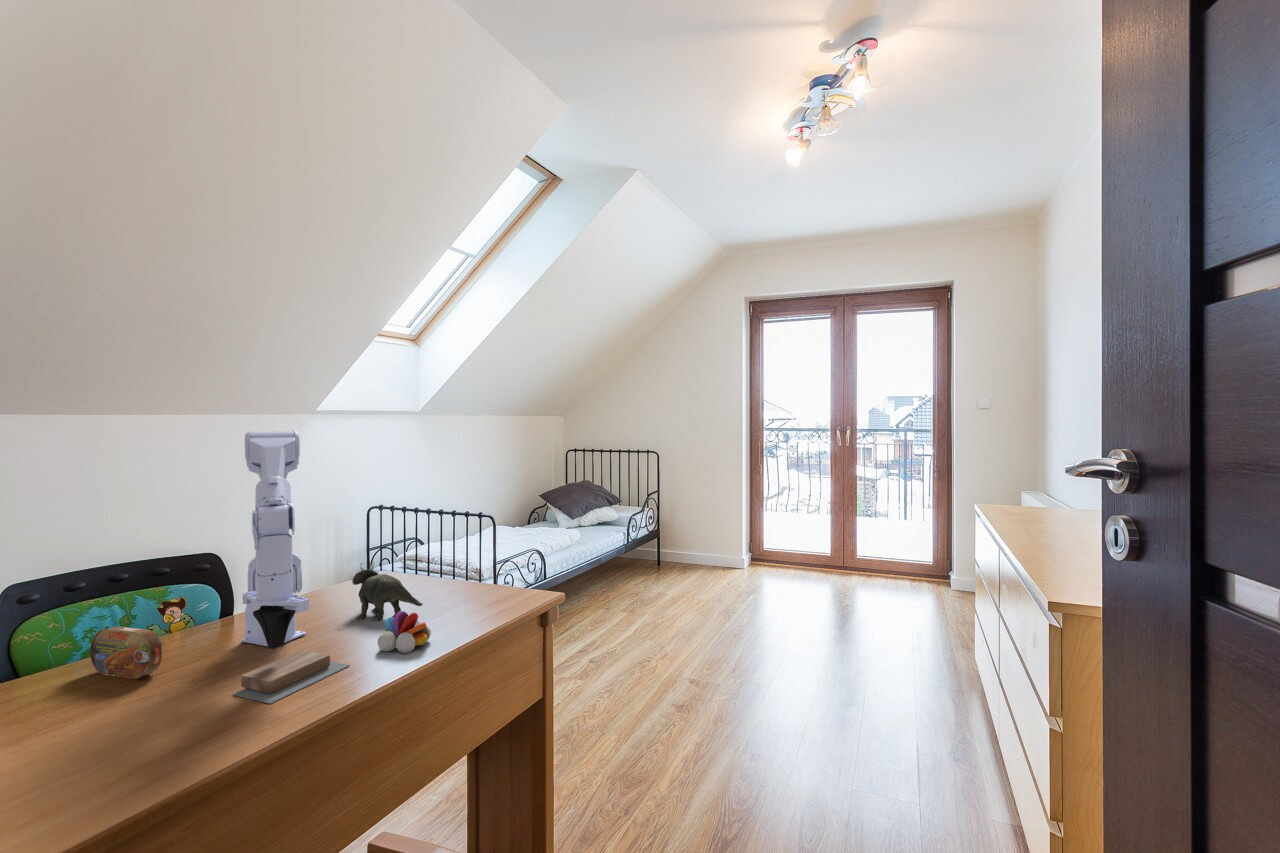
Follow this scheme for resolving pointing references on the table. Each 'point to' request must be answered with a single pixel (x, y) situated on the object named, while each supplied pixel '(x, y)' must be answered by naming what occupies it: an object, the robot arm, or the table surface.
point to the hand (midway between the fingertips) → (276, 646)
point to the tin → (126, 652)
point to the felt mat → (291, 685)
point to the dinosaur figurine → (380, 592)
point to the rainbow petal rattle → (403, 633)
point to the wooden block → (285, 671)
